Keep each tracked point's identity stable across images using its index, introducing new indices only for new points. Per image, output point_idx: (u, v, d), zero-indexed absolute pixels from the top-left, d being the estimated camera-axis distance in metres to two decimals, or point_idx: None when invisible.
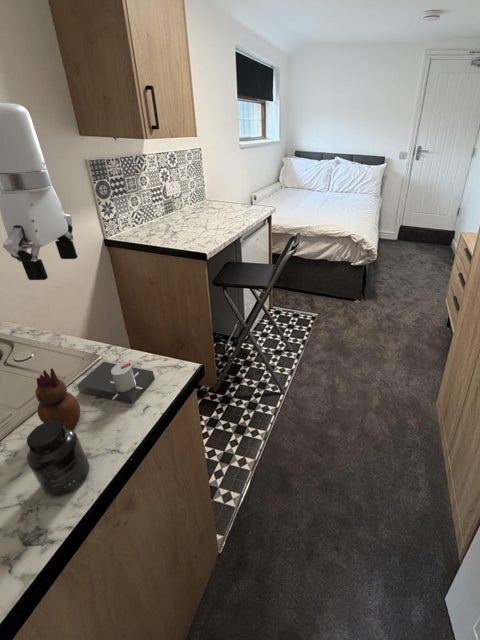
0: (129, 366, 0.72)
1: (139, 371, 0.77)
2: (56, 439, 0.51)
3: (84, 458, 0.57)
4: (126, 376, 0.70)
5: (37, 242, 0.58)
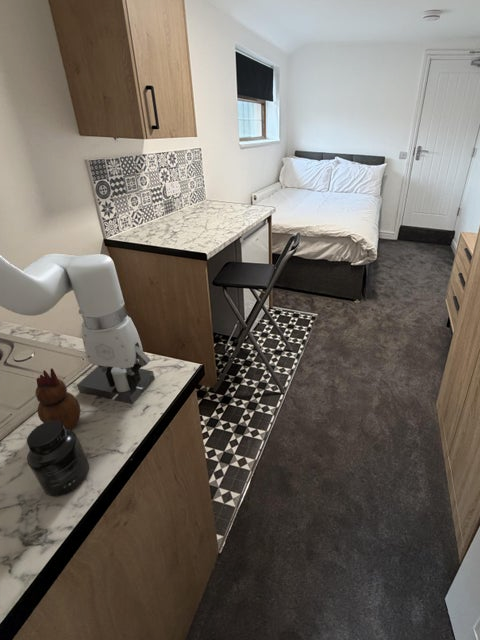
0: None
1: (139, 371, 0.77)
2: (56, 439, 0.51)
3: (84, 458, 0.57)
4: (126, 376, 0.70)
5: None
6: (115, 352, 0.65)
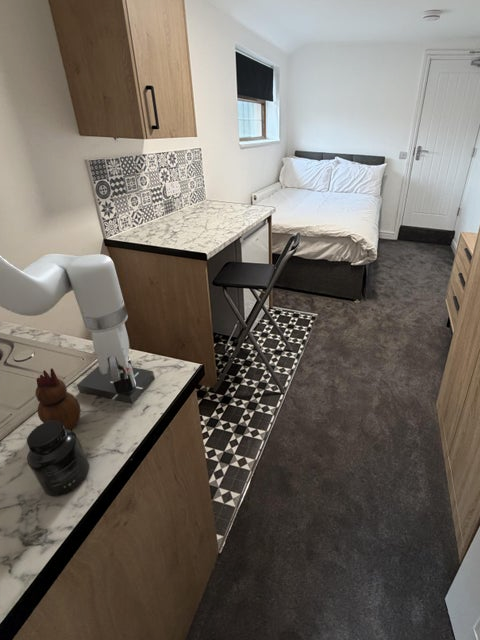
0: None
1: (139, 371, 0.77)
2: (56, 439, 0.51)
3: (84, 458, 0.57)
4: None
5: (125, 365, 0.66)
6: None
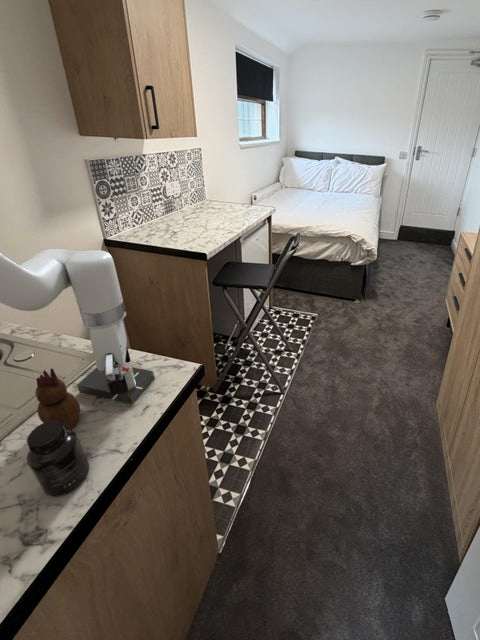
0: (124, 371, 0.70)
1: (139, 371, 0.77)
2: (56, 439, 0.51)
3: (84, 458, 0.57)
4: None
5: (123, 362, 0.66)
6: None
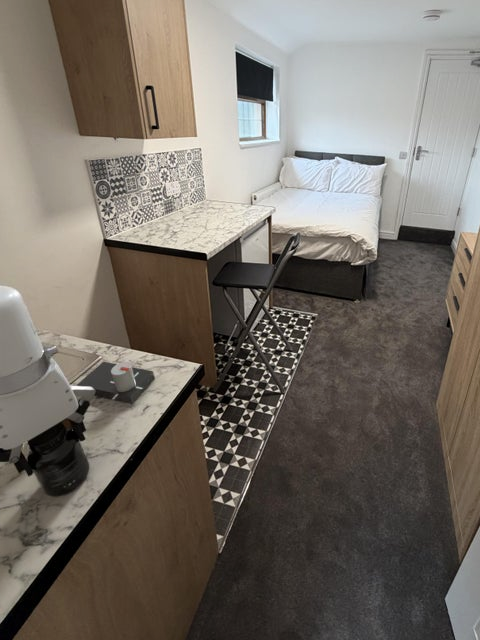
0: (124, 371, 0.70)
1: (139, 371, 0.77)
2: (56, 439, 0.51)
3: (84, 458, 0.57)
4: (115, 378, 0.70)
5: (6, 447, 0.46)
6: None
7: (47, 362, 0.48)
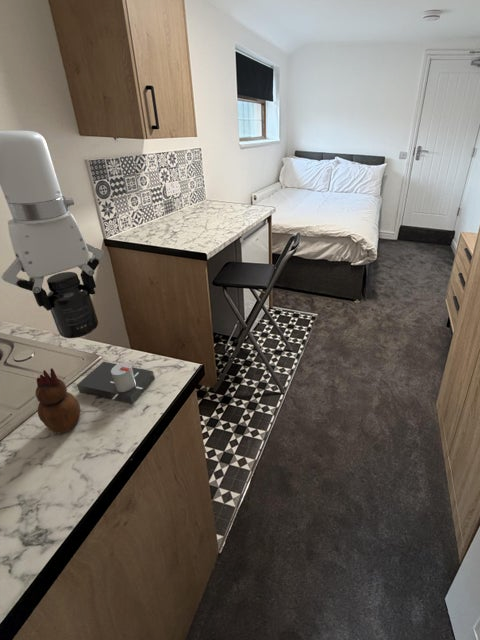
0: (124, 371, 0.70)
1: (139, 371, 0.77)
2: (71, 281, 0.60)
3: (94, 311, 0.66)
4: (115, 378, 0.70)
5: (30, 273, 0.55)
6: None
7: (65, 207, 0.57)
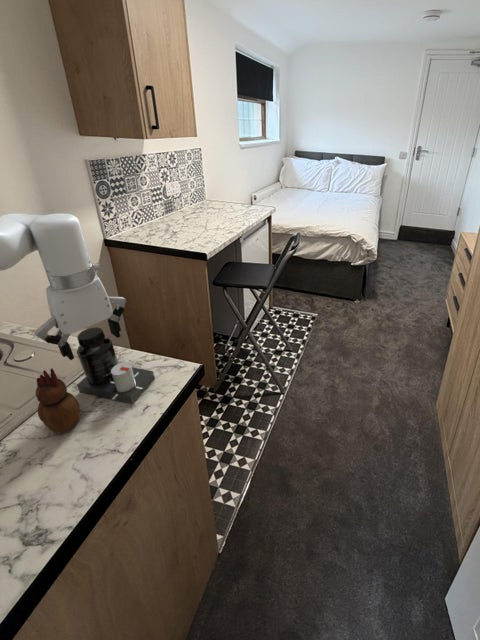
0: (124, 371, 0.70)
1: (139, 371, 0.77)
2: (98, 337, 0.70)
3: (116, 359, 0.76)
4: (115, 378, 0.70)
5: (64, 331, 0.65)
6: None
7: (93, 273, 0.66)
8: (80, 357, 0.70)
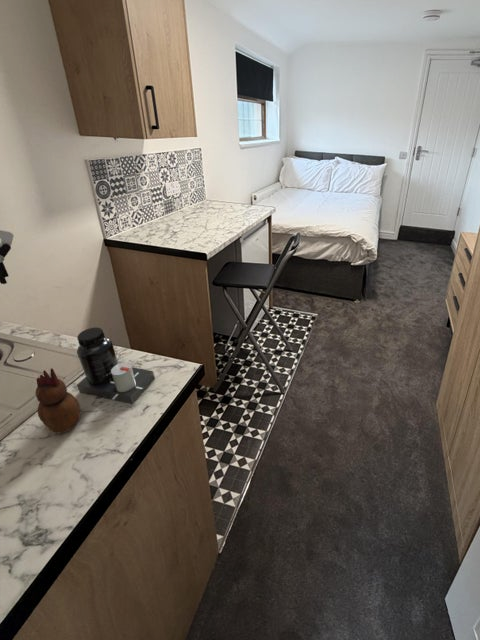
0: (124, 371, 0.70)
1: (139, 371, 0.77)
2: (98, 337, 0.70)
3: (116, 359, 0.76)
4: (115, 378, 0.70)
5: None
6: None
7: None
8: (80, 357, 0.70)
